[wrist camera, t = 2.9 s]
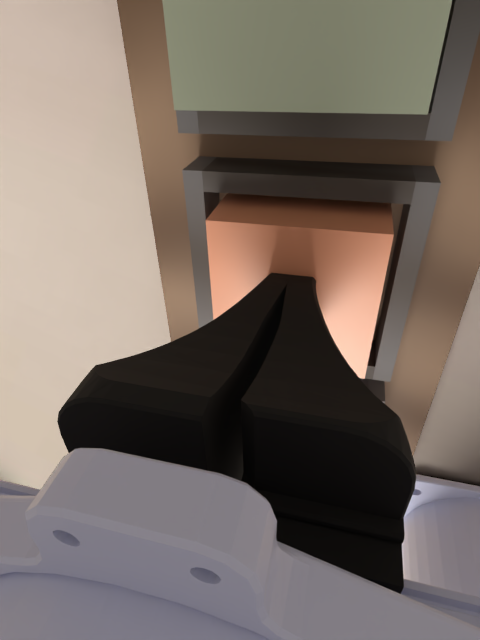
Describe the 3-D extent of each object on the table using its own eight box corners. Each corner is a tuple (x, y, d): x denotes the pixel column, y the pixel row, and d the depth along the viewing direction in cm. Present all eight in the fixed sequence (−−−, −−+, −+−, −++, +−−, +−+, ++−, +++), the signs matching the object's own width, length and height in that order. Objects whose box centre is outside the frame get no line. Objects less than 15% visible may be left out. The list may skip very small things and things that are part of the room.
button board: (398, 466, 22) (401, 522, 19) (197, 428, 24) (178, 473, 22) (659, -337, 8) (789, -496, 5) (109, -237, 10) (27, -315, 8)
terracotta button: (365, 332, 15) (364, 378, 13) (234, 315, 16) (216, 356, 15) (390, 199, 12) (393, 234, 11) (229, 190, 14) (205, 220, 12)
